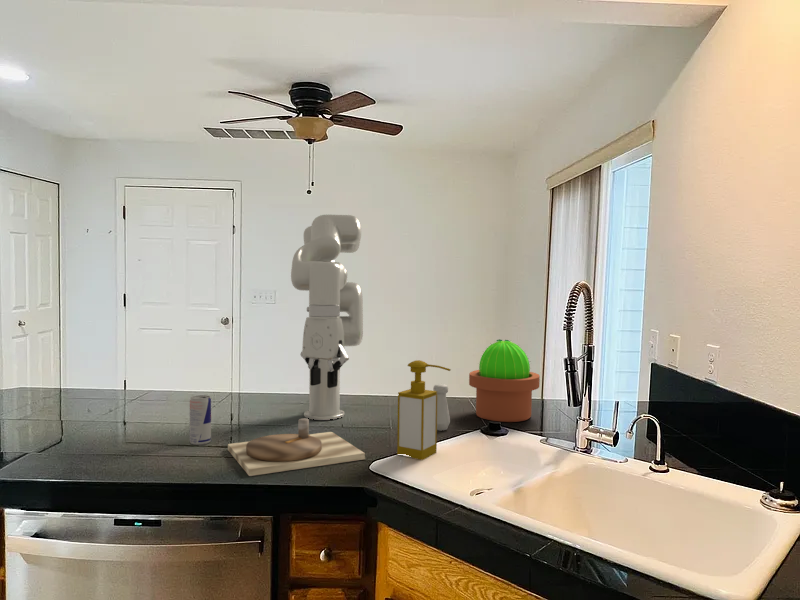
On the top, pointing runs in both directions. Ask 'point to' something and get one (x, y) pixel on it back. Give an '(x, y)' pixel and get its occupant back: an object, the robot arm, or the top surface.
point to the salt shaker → (442, 407)
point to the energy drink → (200, 420)
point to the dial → (285, 445)
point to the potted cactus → (504, 383)
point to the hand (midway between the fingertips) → (323, 385)
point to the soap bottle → (417, 416)
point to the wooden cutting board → (330, 454)
